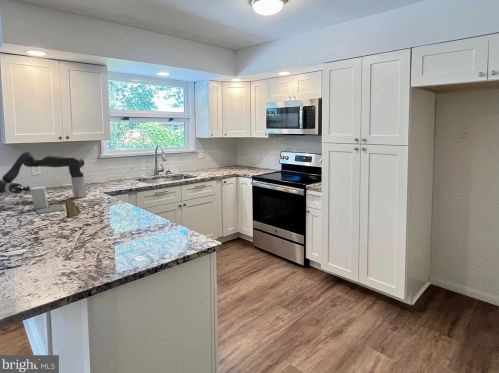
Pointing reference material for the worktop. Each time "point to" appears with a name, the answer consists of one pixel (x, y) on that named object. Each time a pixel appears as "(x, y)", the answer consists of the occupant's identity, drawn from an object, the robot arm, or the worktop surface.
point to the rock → (71, 208)
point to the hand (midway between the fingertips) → (28, 189)
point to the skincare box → (39, 197)
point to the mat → (49, 209)
